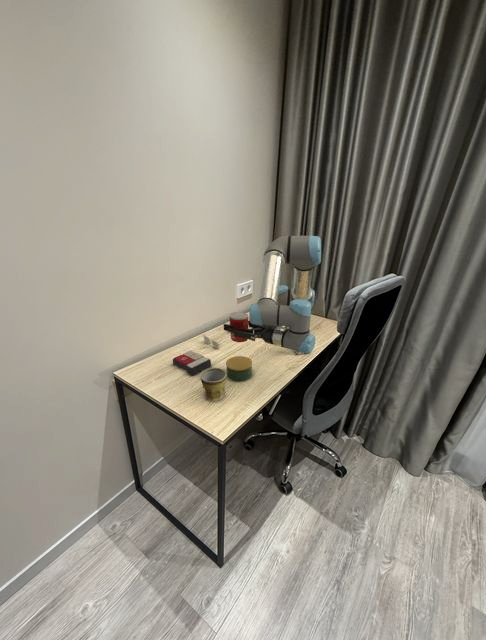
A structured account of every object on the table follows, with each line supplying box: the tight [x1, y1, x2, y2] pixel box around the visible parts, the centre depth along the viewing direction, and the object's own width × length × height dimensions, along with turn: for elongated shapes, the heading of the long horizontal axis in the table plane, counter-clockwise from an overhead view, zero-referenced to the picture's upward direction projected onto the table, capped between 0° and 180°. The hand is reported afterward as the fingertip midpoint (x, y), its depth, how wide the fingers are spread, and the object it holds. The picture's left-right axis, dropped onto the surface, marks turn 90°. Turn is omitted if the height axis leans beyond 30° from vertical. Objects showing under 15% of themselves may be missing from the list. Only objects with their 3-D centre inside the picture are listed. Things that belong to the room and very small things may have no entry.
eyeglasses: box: [202, 328, 230, 349], centre depth 154 cm, size 15×18×4 cm
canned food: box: [229, 311, 249, 343], centre depth 121 cm, size 8×8×11 cm
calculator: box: [172, 350, 212, 376], centre depth 131 cm, size 11×4×15 cm
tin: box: [225, 355, 253, 382], centre depth 123 cm, size 11×11×6 cm
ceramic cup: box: [199, 366, 227, 402], centre depth 110 cm, size 13×10×10 cm
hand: (230, 323), depth 123 cm, fingers closed on canned food, 8 cm apart
